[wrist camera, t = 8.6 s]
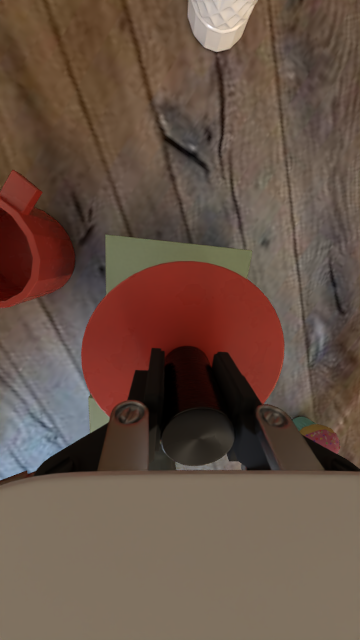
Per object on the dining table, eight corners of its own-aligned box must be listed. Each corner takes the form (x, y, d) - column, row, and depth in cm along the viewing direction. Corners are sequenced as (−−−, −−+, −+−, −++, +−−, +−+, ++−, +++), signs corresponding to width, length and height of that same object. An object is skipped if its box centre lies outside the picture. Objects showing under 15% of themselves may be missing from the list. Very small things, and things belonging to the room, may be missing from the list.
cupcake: (271, 425, 40) (312, 492, 29) (306, 401, 39) (365, 461, 28) (292, 447, 43) (338, 517, 31) (326, 425, 42) (387, 489, 30)
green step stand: (117, 238, 28) (79, 225, 15) (235, 251, 29) (286, 248, 17) (117, 375, 34) (90, 443, 22) (213, 379, 36) (238, 444, 24)
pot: (-39, 272, 28) (-122, 280, 20) (22, 165, 24) (-48, 121, 16) (39, 322, 31) (-6, 346, 22) (102, 232, 27) (76, 222, 19)
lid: (51, 370, 13) (-46, 468, 7) (172, 210, 10) (180, 154, 5) (192, 452, 16) (207, 568, 10) (311, 343, 14) (422, 412, 8)
